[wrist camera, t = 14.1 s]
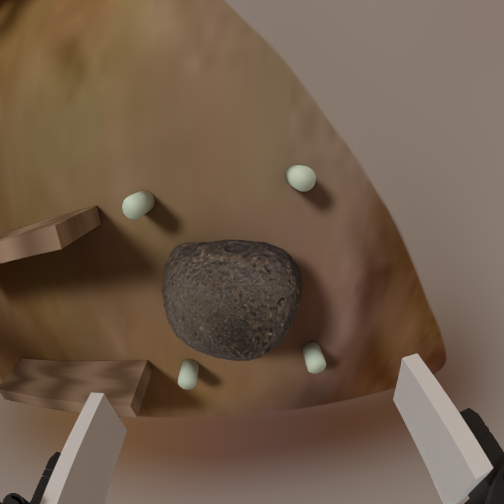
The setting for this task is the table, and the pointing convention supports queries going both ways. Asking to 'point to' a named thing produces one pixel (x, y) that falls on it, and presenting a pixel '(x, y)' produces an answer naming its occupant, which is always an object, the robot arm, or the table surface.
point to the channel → (68, 372)
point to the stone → (231, 297)
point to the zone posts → (314, 359)
